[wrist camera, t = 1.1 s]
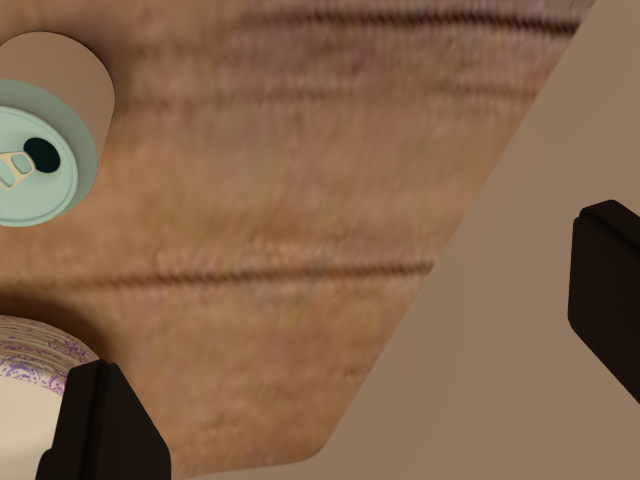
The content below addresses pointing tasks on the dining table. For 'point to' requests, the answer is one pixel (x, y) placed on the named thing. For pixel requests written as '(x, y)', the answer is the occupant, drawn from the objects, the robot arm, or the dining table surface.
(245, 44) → the dining table surface
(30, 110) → the can
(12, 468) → the paper bowls
